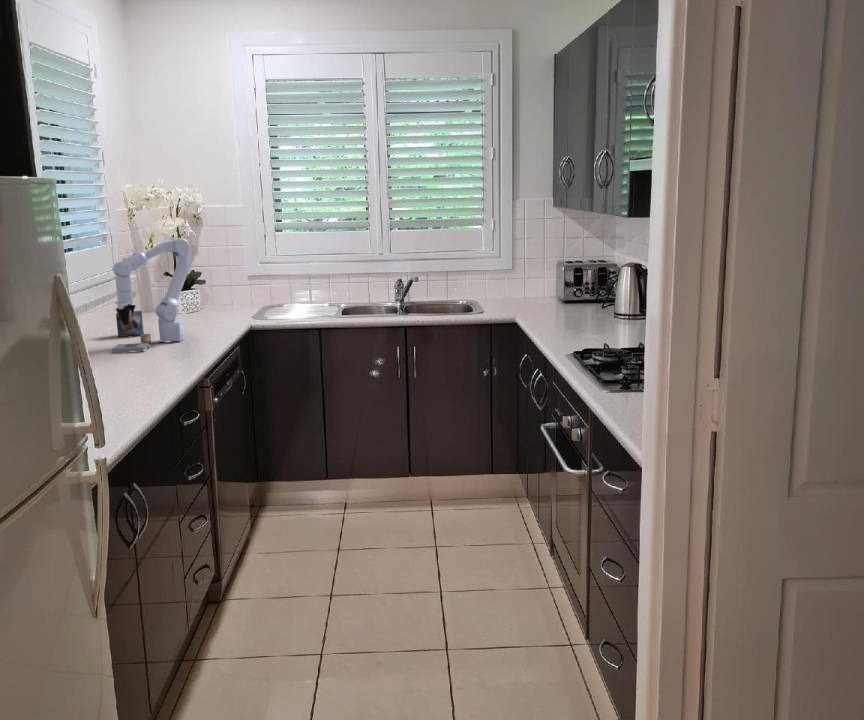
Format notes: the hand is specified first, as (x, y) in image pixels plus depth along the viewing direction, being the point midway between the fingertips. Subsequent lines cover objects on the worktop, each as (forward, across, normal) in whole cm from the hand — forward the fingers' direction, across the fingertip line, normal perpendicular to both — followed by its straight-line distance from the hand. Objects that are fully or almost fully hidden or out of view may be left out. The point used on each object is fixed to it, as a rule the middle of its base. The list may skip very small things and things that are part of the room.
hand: (127, 323), depth 336 cm
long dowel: (+2, 0, 0) cm, 3 cm away
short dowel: (+10, -1, +6) cm, 12 cm away
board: (+9, +9, +3) cm, 13 cm away
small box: (+10, -25, -6) cm, 27 cm away
